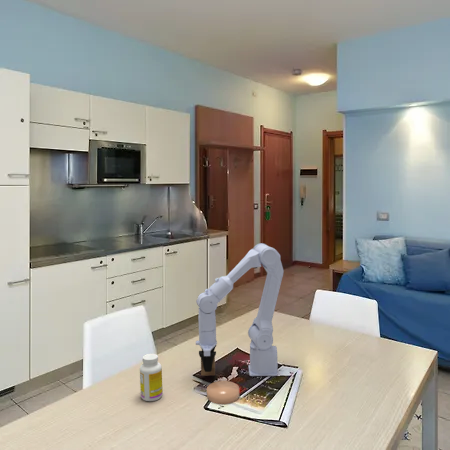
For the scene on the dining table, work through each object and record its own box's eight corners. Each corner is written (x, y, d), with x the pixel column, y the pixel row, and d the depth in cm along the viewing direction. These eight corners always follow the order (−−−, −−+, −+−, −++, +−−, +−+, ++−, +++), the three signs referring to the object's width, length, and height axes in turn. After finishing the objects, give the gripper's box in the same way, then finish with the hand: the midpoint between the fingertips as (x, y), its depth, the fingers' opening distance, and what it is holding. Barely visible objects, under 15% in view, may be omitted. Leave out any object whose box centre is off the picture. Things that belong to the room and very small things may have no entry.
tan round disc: (238, 388, 134) (238, 380, 134) (240, 404, 124) (240, 396, 124) (207, 388, 134) (207, 381, 134) (206, 405, 124) (206, 397, 124)
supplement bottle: (166, 393, 131) (165, 353, 130) (156, 403, 125) (154, 362, 124) (147, 389, 133) (146, 351, 132) (136, 400, 127) (135, 359, 126)
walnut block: (215, 369, 143) (214, 352, 143) (214, 375, 139) (214, 357, 138) (201, 369, 143) (201, 352, 143) (201, 375, 139) (200, 358, 138)
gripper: (196, 321, 147) (197, 358, 148) (193, 337, 132) (195, 378, 134) (216, 321, 147) (217, 358, 148) (216, 336, 132) (217, 377, 134)
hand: (208, 367), depth 141 cm, fingers closed on walnut block, 4 cm apart
